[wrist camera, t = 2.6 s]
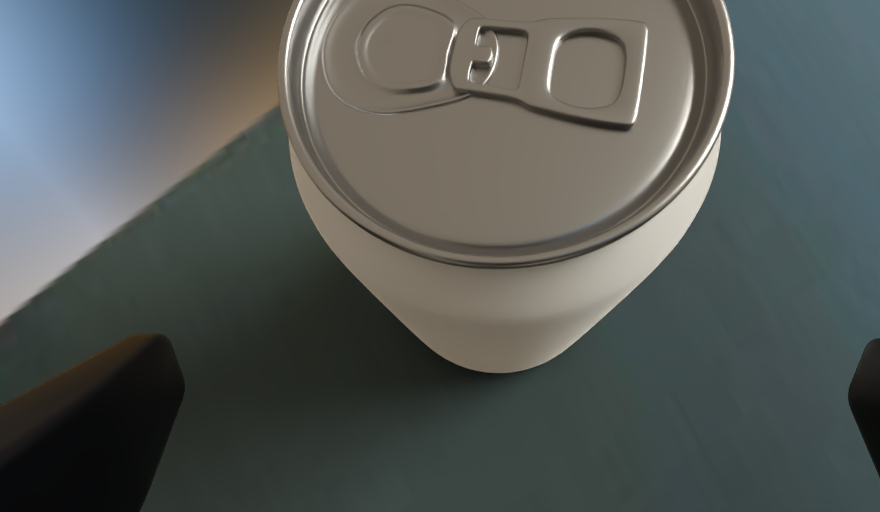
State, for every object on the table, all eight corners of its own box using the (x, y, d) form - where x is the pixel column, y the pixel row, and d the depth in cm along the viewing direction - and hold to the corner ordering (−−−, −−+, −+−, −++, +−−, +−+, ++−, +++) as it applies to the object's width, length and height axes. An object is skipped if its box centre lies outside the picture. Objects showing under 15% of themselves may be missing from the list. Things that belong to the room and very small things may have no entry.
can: (419, 166, 20) (314, -175, 8) (611, 195, 19) (791, -143, 7) (377, 352, 18) (175, 252, 7) (584, 394, 17) (756, 358, 6)
